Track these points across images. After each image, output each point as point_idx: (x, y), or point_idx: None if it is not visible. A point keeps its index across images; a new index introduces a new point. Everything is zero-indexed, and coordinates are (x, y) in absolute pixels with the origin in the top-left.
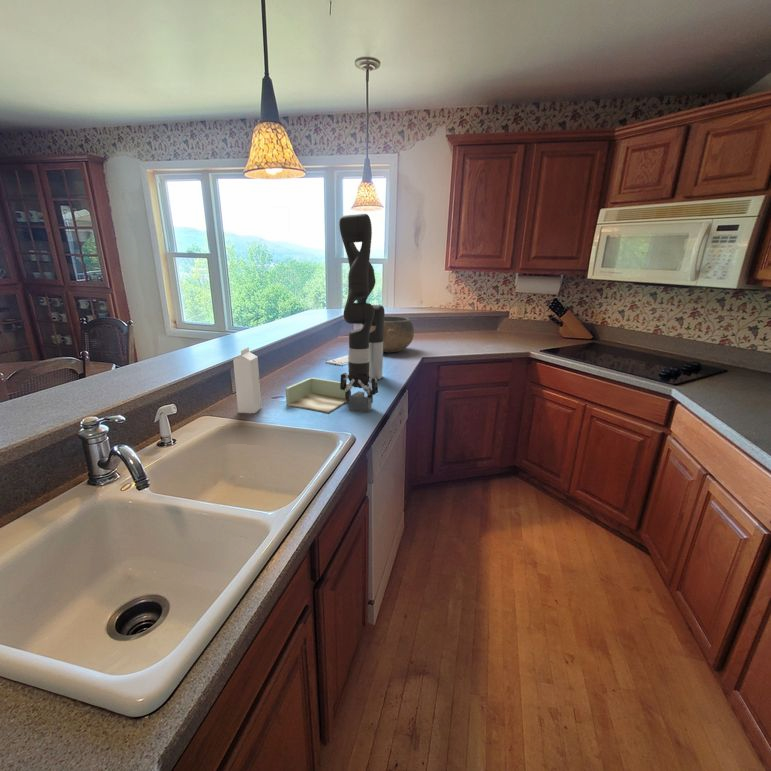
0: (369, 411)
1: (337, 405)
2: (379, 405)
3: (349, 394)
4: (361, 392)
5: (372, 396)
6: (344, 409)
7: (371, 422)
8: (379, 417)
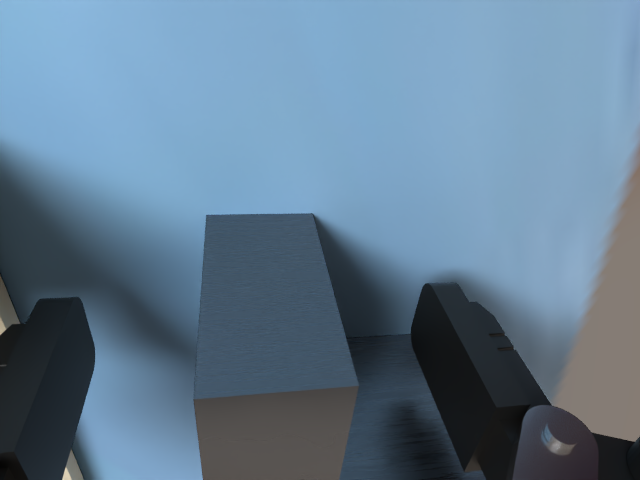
0: None
1: None
2: (537, 138)
3: (51, 429)
4: (305, 425)
5: (537, 397)
6: (165, 415)
7: None
8: (553, 400)
